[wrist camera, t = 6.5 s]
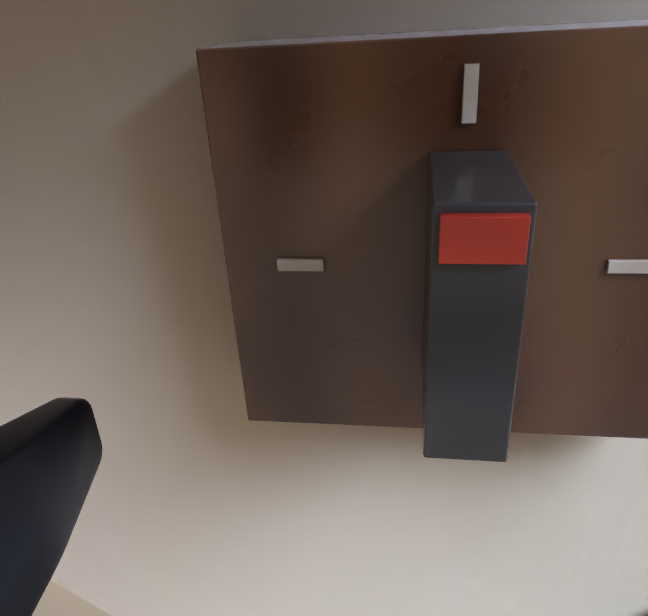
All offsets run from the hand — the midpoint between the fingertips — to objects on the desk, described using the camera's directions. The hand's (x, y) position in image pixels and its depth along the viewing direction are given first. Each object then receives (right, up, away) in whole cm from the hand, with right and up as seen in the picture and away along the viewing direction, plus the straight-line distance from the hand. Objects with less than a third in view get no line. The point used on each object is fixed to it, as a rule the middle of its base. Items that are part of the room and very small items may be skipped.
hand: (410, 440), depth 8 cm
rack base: (+3, +4, +12) cm, 13 cm away
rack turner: (+3, +3, +9) cm, 10 cm away
